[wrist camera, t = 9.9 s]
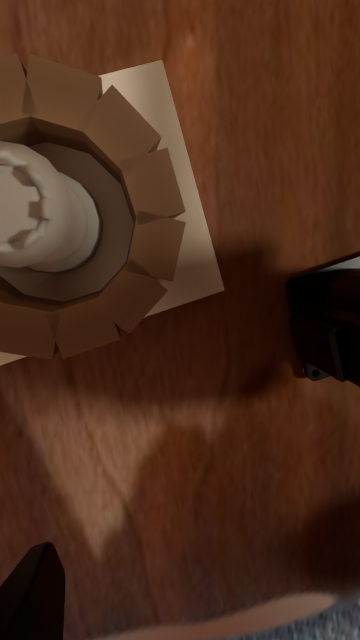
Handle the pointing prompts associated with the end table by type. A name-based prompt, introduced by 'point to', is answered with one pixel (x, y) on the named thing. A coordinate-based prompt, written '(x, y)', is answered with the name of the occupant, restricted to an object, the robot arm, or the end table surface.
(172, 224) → the ring board
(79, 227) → the rook chess piece
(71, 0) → the end table surface
